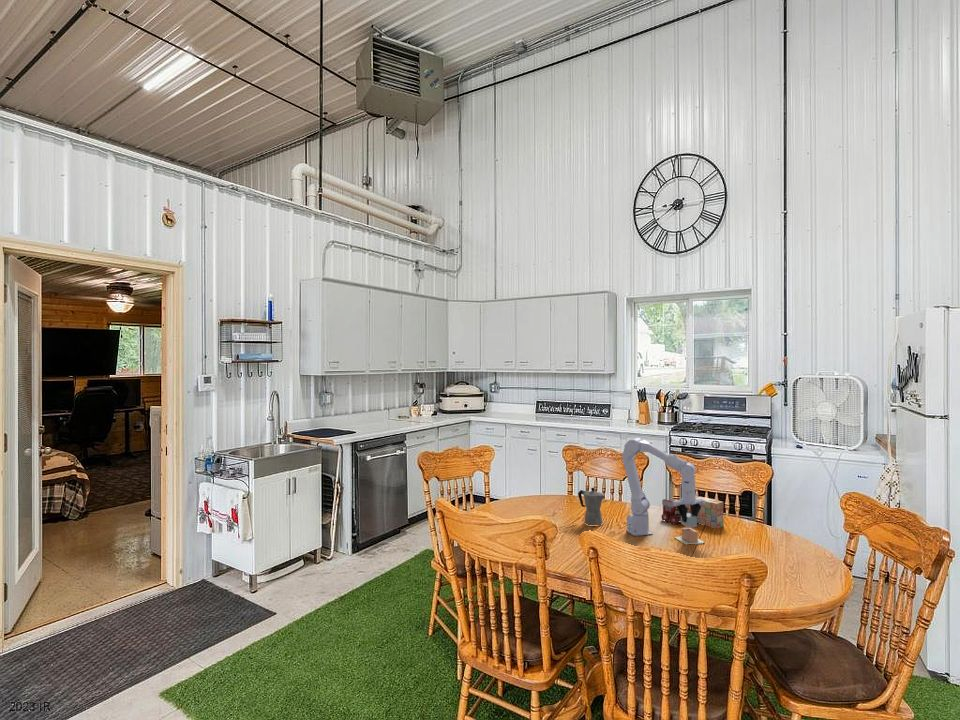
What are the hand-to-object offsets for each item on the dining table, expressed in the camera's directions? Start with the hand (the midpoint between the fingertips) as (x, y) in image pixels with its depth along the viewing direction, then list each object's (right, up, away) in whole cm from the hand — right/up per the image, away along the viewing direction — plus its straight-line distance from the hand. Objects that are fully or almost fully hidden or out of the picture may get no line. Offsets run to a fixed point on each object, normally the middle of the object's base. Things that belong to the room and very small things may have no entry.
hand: (689, 521), depth 224 cm
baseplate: (0, -9, 0) cm, 9 cm away
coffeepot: (-38, -10, +27) cm, 47 cm away
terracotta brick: (0, -8, 0) cm, 8 cm away
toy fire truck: (+4, -10, +28) cm, 30 cm away
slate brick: (0, -2, 0) cm, 2 cm away
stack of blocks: (+16, -9, +27) cm, 32 cm away
